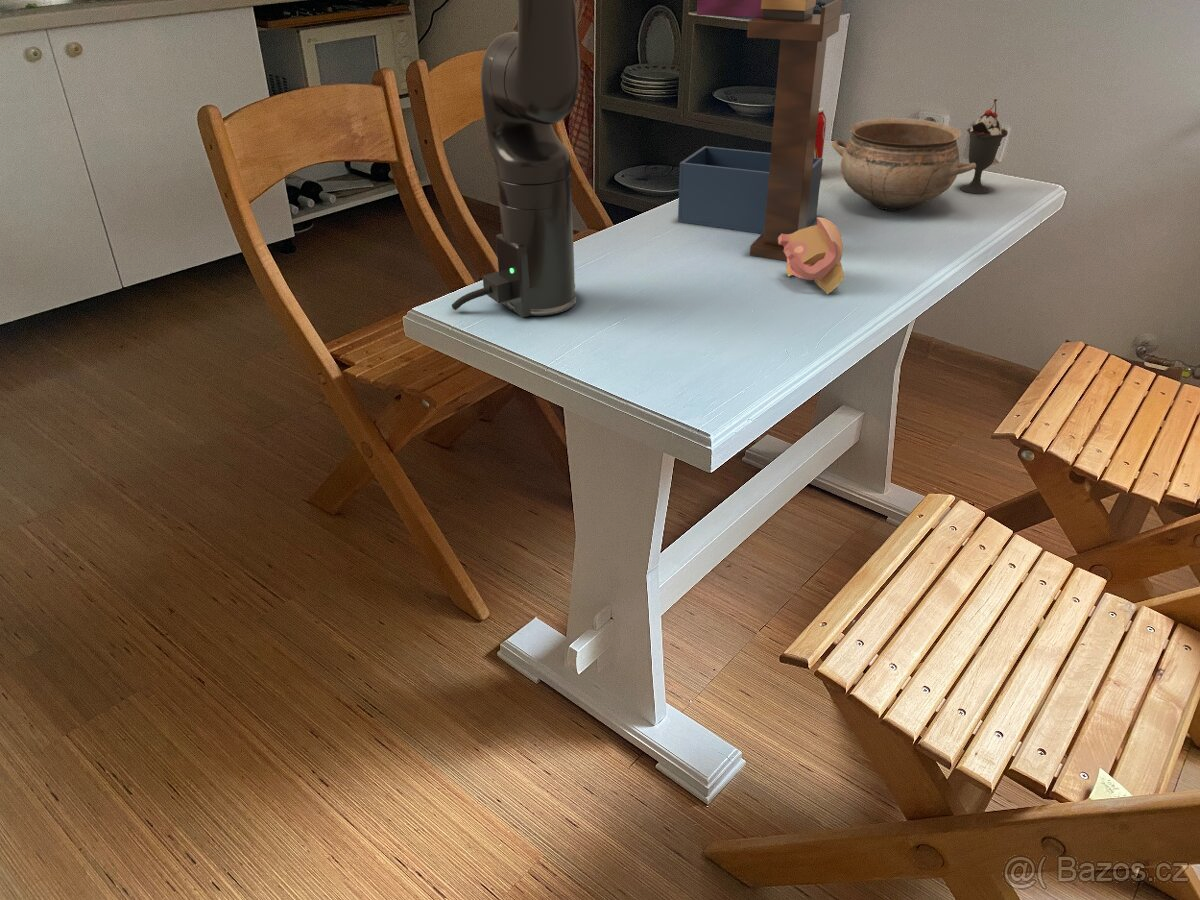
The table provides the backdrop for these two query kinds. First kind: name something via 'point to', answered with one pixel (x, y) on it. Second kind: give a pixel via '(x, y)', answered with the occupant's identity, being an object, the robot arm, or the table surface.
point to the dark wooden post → (793, 121)
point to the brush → (758, 8)
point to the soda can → (820, 134)
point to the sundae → (983, 147)
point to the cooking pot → (900, 161)
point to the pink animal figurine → (815, 254)
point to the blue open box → (732, 189)
